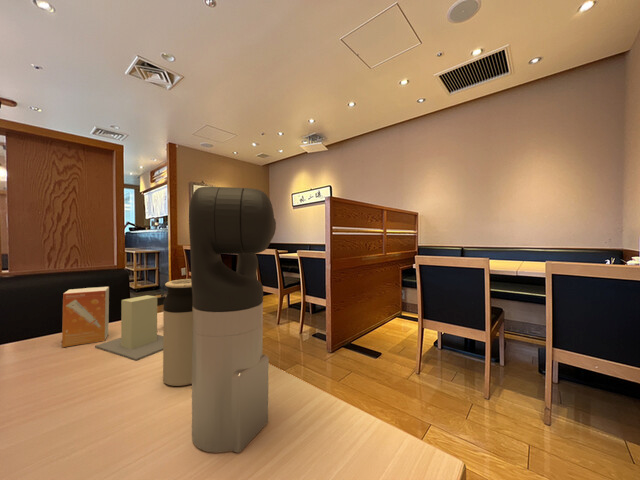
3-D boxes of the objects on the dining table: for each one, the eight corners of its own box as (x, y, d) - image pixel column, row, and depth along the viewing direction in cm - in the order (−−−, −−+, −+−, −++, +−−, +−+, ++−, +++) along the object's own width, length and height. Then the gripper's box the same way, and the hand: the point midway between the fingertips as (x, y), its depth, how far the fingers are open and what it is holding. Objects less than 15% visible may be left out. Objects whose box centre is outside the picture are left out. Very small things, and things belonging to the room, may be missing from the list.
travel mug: (154, 379, 48) (154, 282, 48) (193, 362, 55) (194, 277, 55) (179, 392, 44) (180, 286, 44) (218, 372, 51) (219, 280, 51)
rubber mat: (182, 342, 65) (182, 340, 65) (136, 360, 55) (136, 358, 55) (142, 332, 72) (142, 330, 72) (94, 347, 62) (94, 345, 62)
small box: (61, 348, 61) (61, 293, 61) (68, 339, 67) (68, 288, 67) (105, 341, 66) (106, 289, 66) (109, 333, 71) (109, 286, 71)
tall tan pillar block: (157, 340, 65) (157, 296, 65) (131, 349, 60) (131, 301, 60) (147, 337, 67) (147, 295, 67) (121, 346, 62) (121, 300, 62)
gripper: (193, 279, 87) (144, 288, 72) (226, 283, 81) (180, 293, 66) (193, 302, 87) (144, 315, 72) (226, 307, 81) (180, 322, 66)
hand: (161, 305), depth 69 cm, fingers open, 8 cm apart
